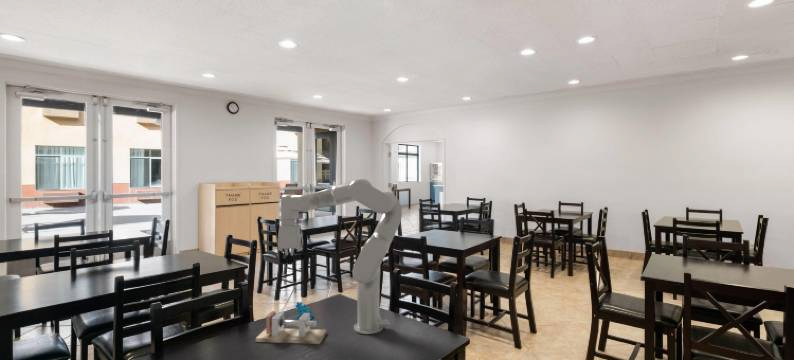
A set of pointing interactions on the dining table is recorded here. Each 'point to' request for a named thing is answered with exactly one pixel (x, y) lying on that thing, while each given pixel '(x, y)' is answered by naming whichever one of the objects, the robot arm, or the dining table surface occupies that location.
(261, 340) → the base plate
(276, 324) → the bearing blocks
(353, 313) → the dining table surface
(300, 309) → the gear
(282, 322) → the shaft
